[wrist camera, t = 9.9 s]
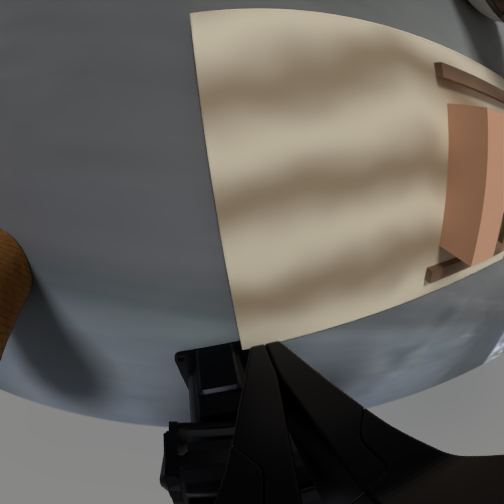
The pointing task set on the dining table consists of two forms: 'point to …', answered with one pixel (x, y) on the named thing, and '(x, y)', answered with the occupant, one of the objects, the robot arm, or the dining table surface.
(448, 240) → the t block
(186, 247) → the dining table surface
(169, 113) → the dining table surface
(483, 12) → the grey egg-shaped pod
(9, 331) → the disposable coffee cup
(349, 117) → the board
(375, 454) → the robot arm
